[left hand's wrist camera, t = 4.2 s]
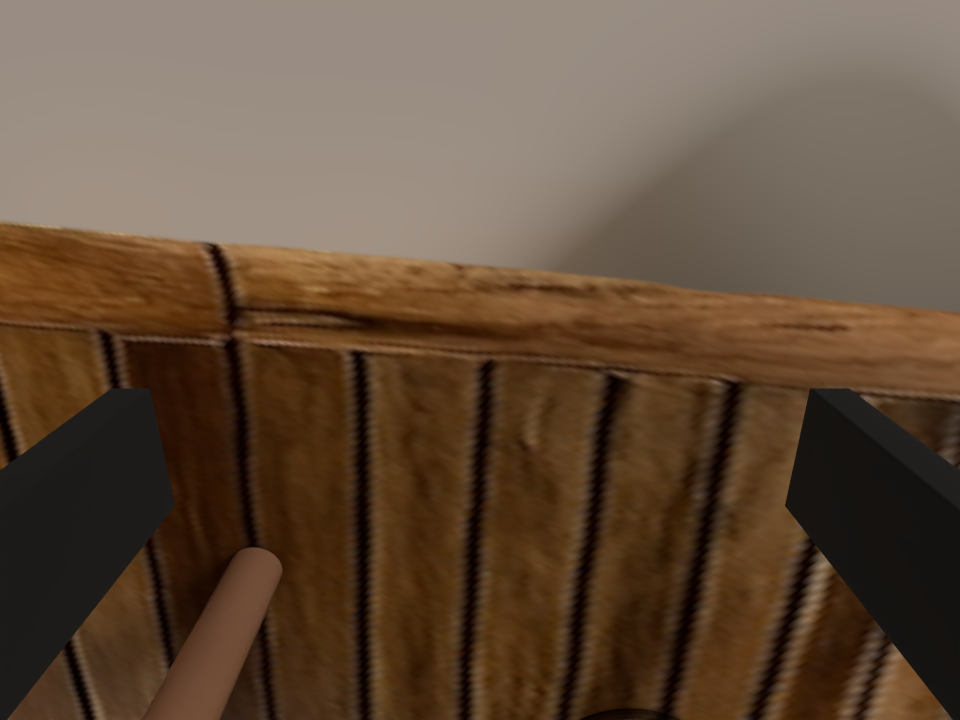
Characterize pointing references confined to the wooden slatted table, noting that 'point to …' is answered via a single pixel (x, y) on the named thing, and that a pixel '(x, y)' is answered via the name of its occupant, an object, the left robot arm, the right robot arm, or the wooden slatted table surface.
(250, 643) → the brown long cylinder
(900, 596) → the left robot arm
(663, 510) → the wooden slatted table surface
